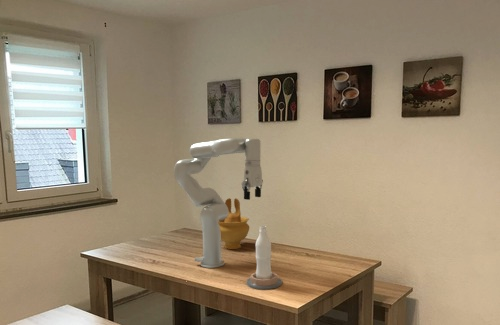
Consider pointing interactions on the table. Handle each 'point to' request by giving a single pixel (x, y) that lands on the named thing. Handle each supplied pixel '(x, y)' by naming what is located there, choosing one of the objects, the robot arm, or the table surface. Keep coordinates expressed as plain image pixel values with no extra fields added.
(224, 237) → the decorative bowl
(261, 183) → the robot arm
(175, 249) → the table surface
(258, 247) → the water bottle
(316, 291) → the table surface
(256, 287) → the ring plate
